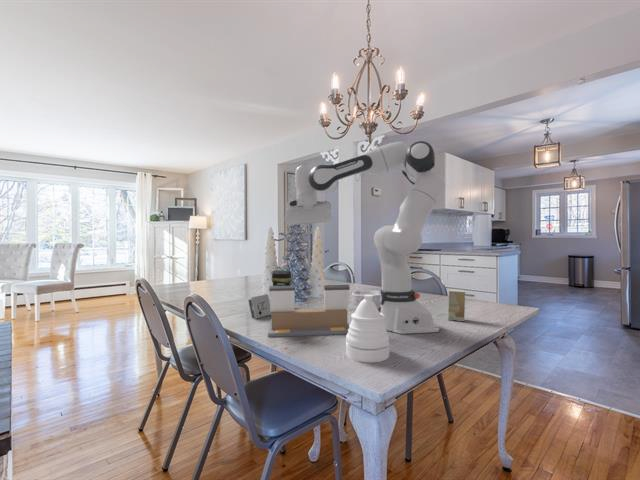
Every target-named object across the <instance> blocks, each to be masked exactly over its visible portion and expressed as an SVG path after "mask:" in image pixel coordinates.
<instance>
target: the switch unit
mask: <svg viewBox="0 0 640 480" xmlns="http://www.w3.org/2000/svg"><path fill="white" fill-rule="evenodd" d="M270 317H271V322H270V323H269V326H268V333H267V337H268V338H274V337H276V338H278V337H299V336H301V337H302V336H303V337H305V336H321V335H323V336H325V335H326V336H327V335H347V333H348V329H349V325H350V323H348V309H334V310H324V307H323V308H299V309H297V308H295V311H272V313H271V315H270Z"/></svg>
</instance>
